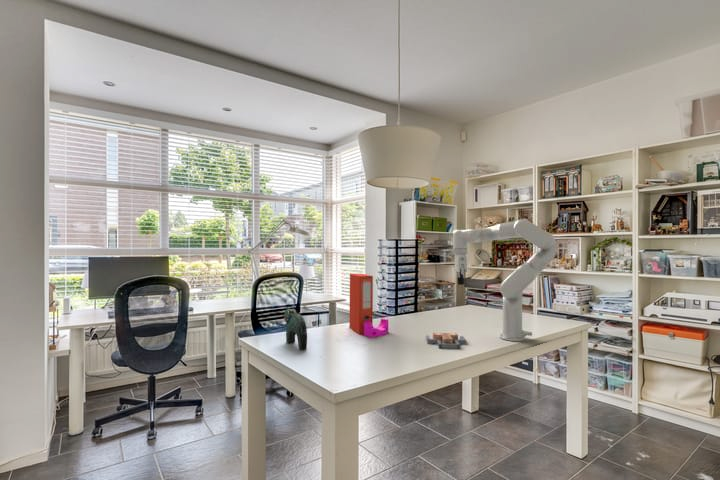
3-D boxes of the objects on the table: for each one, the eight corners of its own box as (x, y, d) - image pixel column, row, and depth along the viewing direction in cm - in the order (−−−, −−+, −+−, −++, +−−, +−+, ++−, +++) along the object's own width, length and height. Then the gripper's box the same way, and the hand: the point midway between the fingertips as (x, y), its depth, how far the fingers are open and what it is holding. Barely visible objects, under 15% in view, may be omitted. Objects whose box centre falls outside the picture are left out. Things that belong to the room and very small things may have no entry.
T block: (456, 341, 190) (456, 333, 190) (461, 347, 178) (461, 339, 178) (432, 340, 191) (432, 332, 191) (435, 347, 179) (435, 338, 179)
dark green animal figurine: (282, 342, 189) (282, 302, 189) (294, 340, 193) (294, 301, 193) (298, 351, 172) (298, 308, 172) (311, 349, 176) (311, 307, 176)
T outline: (462, 339, 192) (462, 335, 192) (470, 348, 175) (470, 344, 176) (425, 339, 193) (425, 335, 193) (429, 348, 177) (429, 344, 177)
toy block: (371, 338, 197) (371, 323, 197) (363, 335, 202) (363, 322, 202) (391, 333, 206) (391, 320, 206) (383, 331, 211) (383, 318, 211)
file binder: (362, 326, 222) (362, 273, 222) (372, 333, 206) (372, 275, 206) (349, 328, 219) (349, 273, 219) (359, 334, 203) (359, 276, 203)
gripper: (470, 251, 201) (470, 285, 200) (464, 251, 215) (464, 283, 215) (456, 252, 201) (456, 286, 201) (451, 251, 216) (451, 283, 216)
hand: (460, 284), depth 208 cm, fingers closed
